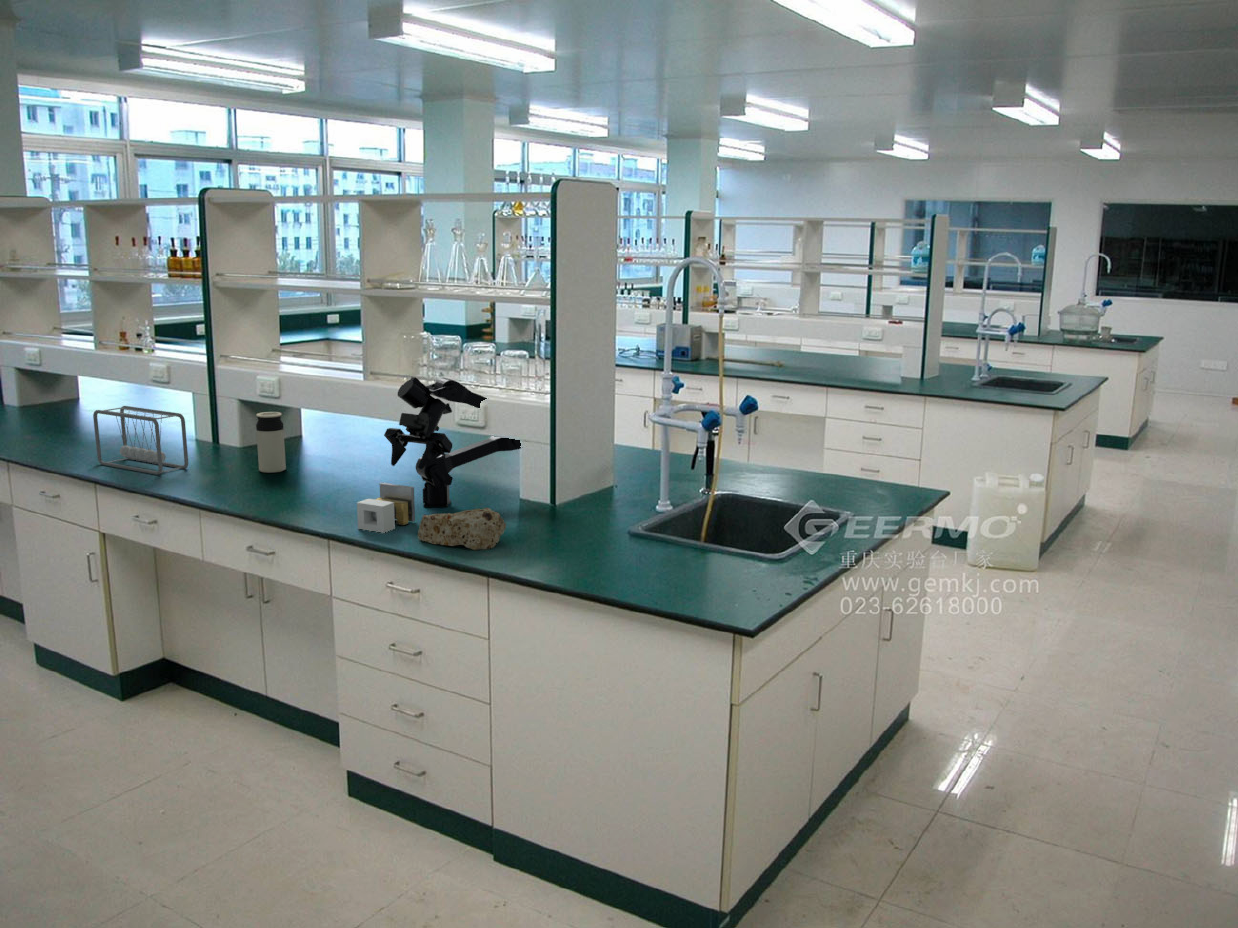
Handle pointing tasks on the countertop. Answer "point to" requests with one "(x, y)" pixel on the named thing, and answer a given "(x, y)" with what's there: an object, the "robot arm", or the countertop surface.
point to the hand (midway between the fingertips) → (405, 466)
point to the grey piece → (398, 498)
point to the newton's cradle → (133, 451)
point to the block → (383, 515)
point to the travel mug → (270, 442)
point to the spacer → (399, 510)
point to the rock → (463, 528)
